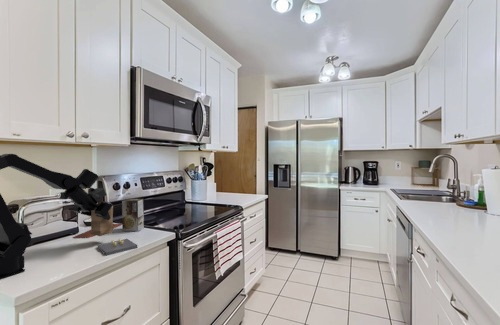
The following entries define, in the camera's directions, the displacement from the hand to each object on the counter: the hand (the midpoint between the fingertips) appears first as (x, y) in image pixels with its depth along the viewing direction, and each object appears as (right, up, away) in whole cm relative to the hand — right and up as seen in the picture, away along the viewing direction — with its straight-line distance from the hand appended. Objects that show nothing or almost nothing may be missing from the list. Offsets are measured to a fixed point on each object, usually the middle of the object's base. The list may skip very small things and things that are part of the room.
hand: (104, 218), depth 114 cm
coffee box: (+3, -11, +20) cm, 23 cm away
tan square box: (-1, -7, -1) cm, 7 cm away
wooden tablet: (-14, -11, +18) cm, 25 cm away
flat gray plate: (+10, -11, -7) cm, 16 cm away
